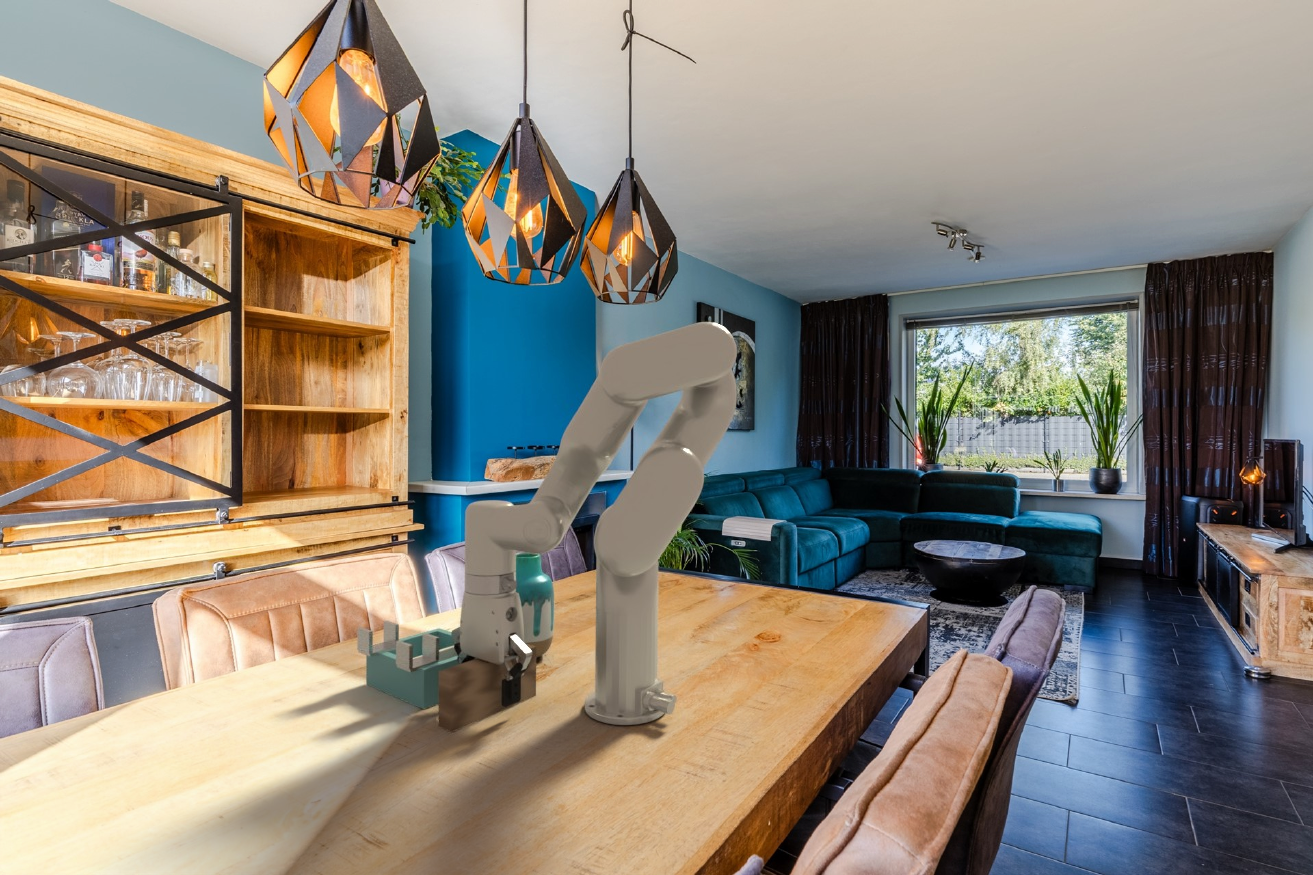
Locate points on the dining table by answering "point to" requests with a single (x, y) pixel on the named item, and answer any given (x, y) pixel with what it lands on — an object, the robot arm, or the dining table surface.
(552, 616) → the vase
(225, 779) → the dining table surface
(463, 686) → the door
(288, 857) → the dining table surface
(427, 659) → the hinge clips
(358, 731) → the dining table surface
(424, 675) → the box
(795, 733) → the dining table surface
